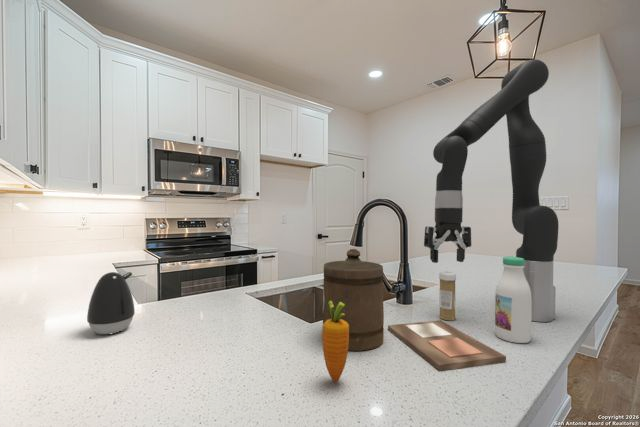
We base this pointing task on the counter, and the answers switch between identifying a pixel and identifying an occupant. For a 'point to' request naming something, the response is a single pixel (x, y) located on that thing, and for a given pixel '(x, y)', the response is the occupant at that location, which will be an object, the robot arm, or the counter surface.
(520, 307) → the milk bottle
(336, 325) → the carrot
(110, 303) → the pump dispenser
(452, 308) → the sprinkles bottle
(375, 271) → the wooden container
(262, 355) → the counter surface
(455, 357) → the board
